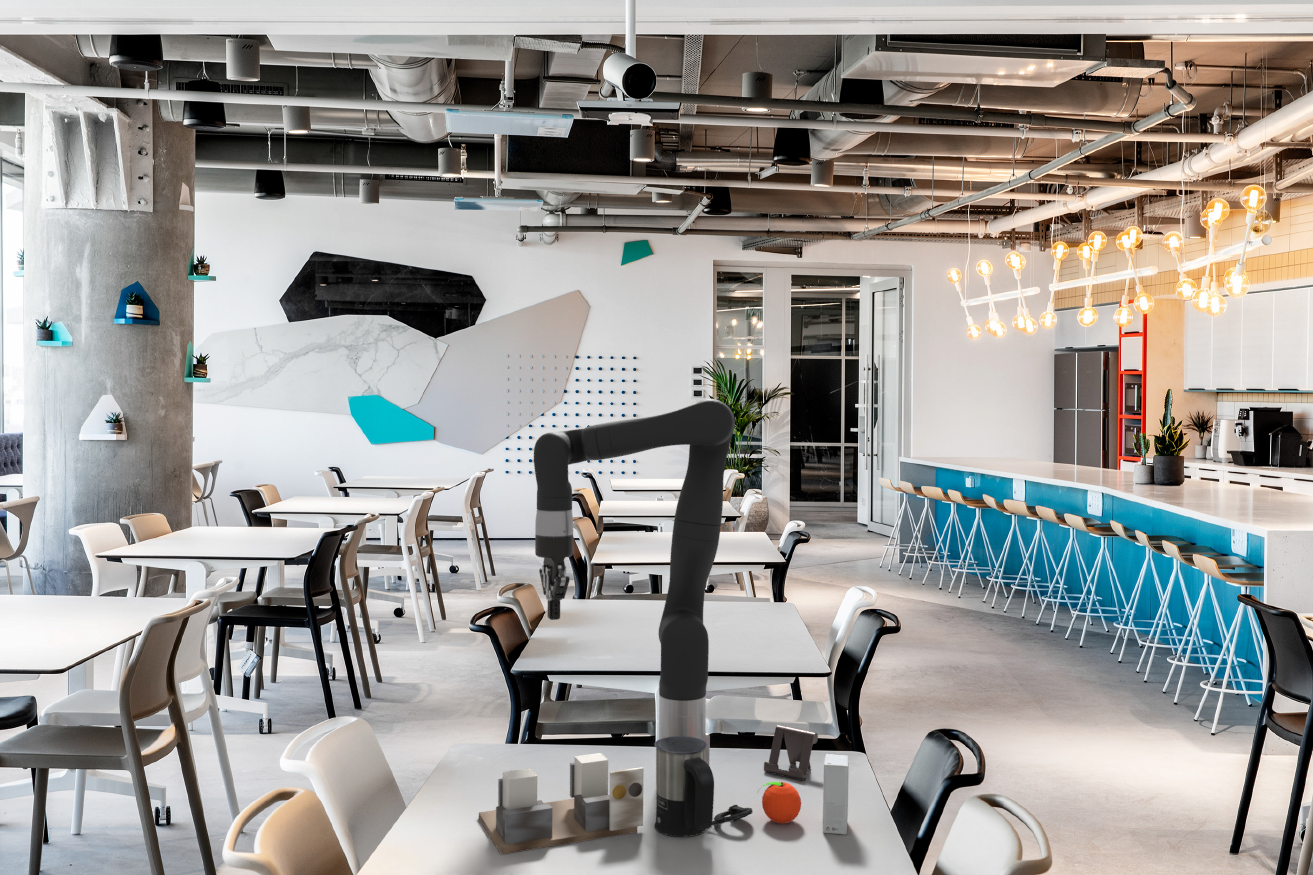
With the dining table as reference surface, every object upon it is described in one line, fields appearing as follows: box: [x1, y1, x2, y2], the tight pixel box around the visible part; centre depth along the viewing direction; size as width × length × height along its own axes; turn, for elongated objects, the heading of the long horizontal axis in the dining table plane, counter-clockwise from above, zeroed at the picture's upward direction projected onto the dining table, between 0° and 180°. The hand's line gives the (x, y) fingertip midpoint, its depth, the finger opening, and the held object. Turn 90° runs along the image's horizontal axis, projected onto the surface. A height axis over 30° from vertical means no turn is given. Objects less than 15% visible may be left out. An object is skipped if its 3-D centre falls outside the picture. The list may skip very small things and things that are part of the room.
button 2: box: [569, 752, 609, 799], centre depth 185 cm, size 6×5×9 cm
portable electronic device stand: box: [763, 724, 819, 782], centre depth 207 cm, size 9×8×8 cm
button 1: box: [497, 767, 538, 810], centre depth 176 cm, size 6×5×9 cm
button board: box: [478, 766, 645, 855], centre depth 180 cm, size 25×16×11 cm, turn 113°
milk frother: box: [654, 736, 753, 838], centre depth 180 cm, size 14×16×15 cm
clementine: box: [756, 781, 802, 824], centre depth 182 cm, size 8×7×7 cm
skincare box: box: [822, 753, 850, 836], centre depth 180 cm, size 6×4×12 cm
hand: (553, 618), depth 205 cm, fingers closed
